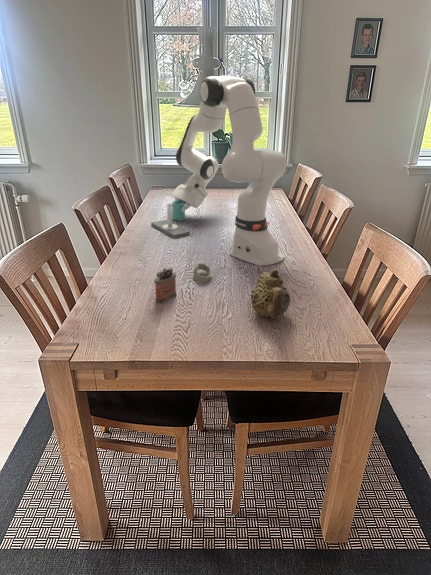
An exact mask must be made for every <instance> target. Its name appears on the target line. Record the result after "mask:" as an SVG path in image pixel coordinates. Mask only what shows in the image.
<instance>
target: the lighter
mask: <svg viewBox="0 0 431 575" xmlns="http://www.w3.org/2000/svg"><path fill="white" fill-rule="evenodd" d="M173 269H174V268H173V267H168V268H166V267H164V268H163V269H162V270H160V271H158V272H156V277H155V279H154V287H155V303H156V304H164V303H166V302H168V300H169V301H170V299H171V300H173V299H174V298H175V297H177V289H176V288H177V287H176V277H177V273H176V272H173V271H174V270H173Z"/></svg>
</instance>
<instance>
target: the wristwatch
mask: <svg viewBox="0 0 431 575" xmlns="http://www.w3.org/2000/svg"><path fill="white" fill-rule="evenodd" d="M198 270H201V271H204V272H206V274H207V276H202V275H201V274H199V272H198ZM212 272H213V271H212V270H211V268H210V267H209V265H207V264H205V263H203V262H202V263H201V262H199V263H196V265H195V268H194V271H193V279H194V280H195V282H198V283H201V284H206V283H208V282H209V281H210V278H211V275H212Z"/></svg>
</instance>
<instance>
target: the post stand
mask: <svg viewBox="0 0 431 575" xmlns="http://www.w3.org/2000/svg"><path fill="white" fill-rule="evenodd" d="M166 204H167V205H166V209H167V210H166V211H167V212H166V213H167V215H166V216H167V218H166V219H162V220H157V221H152V222H151V223H150V224H151V227H154V228H155V229H157V230H159V231H161V232H162V233H163V234H165V235H167V236H169V237H171V238H173V239H178V238H184V237H187V236H190V235H191V234H190V233H191V231H189V230H187V229H185V228H183V227H182V226H180V225H177V224H176V223H174V222H173V218H172V203H171V202H167V203H166Z"/></svg>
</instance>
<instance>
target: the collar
mask: <svg viewBox="0 0 431 575" xmlns="http://www.w3.org/2000/svg"><path fill="white" fill-rule="evenodd" d="M171 204H172V220H174V221H183V220H185V218H186V210H185V211H184V212H181V211H180V209H181V207H184V206H185V202H183V201H175V200H174V201H172V203H171Z"/></svg>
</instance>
